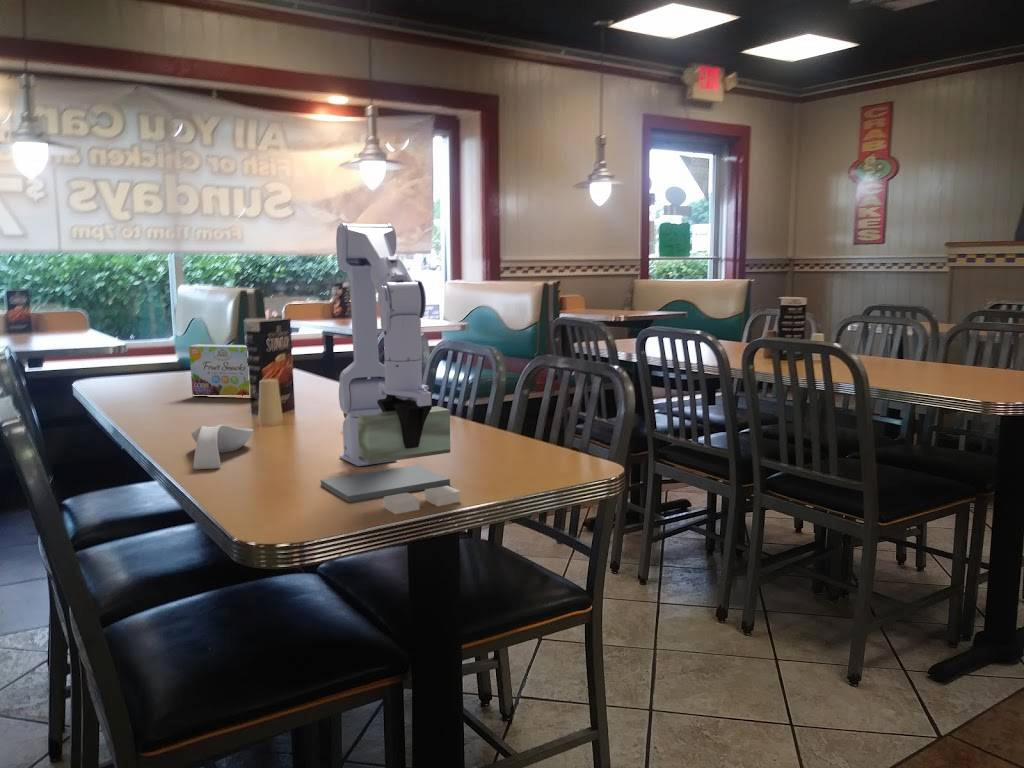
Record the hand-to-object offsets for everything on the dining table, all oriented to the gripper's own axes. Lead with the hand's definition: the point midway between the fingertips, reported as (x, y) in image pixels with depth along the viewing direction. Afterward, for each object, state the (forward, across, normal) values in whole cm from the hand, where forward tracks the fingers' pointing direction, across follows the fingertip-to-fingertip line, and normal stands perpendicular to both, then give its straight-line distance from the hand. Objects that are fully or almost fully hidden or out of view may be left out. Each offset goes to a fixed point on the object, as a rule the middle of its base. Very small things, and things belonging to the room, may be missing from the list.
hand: (405, 445), depth 126 cm
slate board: (+8, +8, 0) cm, 11 cm away
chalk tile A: (+9, -6, +4) cm, 11 cm away
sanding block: (+2, 0, 0) cm, 2 cm away
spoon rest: (+9, +47, +17) cm, 51 cm away
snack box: (+9, +122, -4) cm, 122 cm away
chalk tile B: (+9, -6, -3) cm, 11 cm away
